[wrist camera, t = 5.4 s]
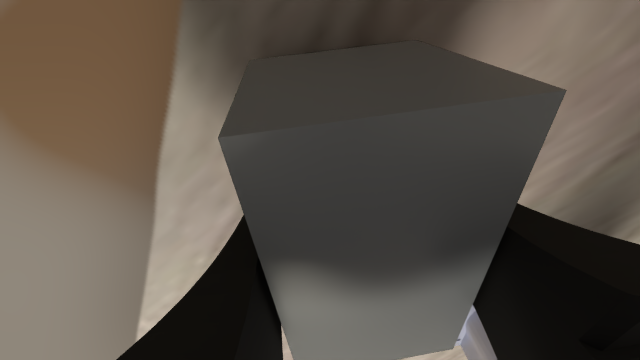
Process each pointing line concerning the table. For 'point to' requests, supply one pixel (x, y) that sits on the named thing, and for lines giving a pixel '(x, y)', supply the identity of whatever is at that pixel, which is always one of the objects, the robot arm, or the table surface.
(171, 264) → the table surface
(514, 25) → the table surface
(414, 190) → the grey rectangular box
